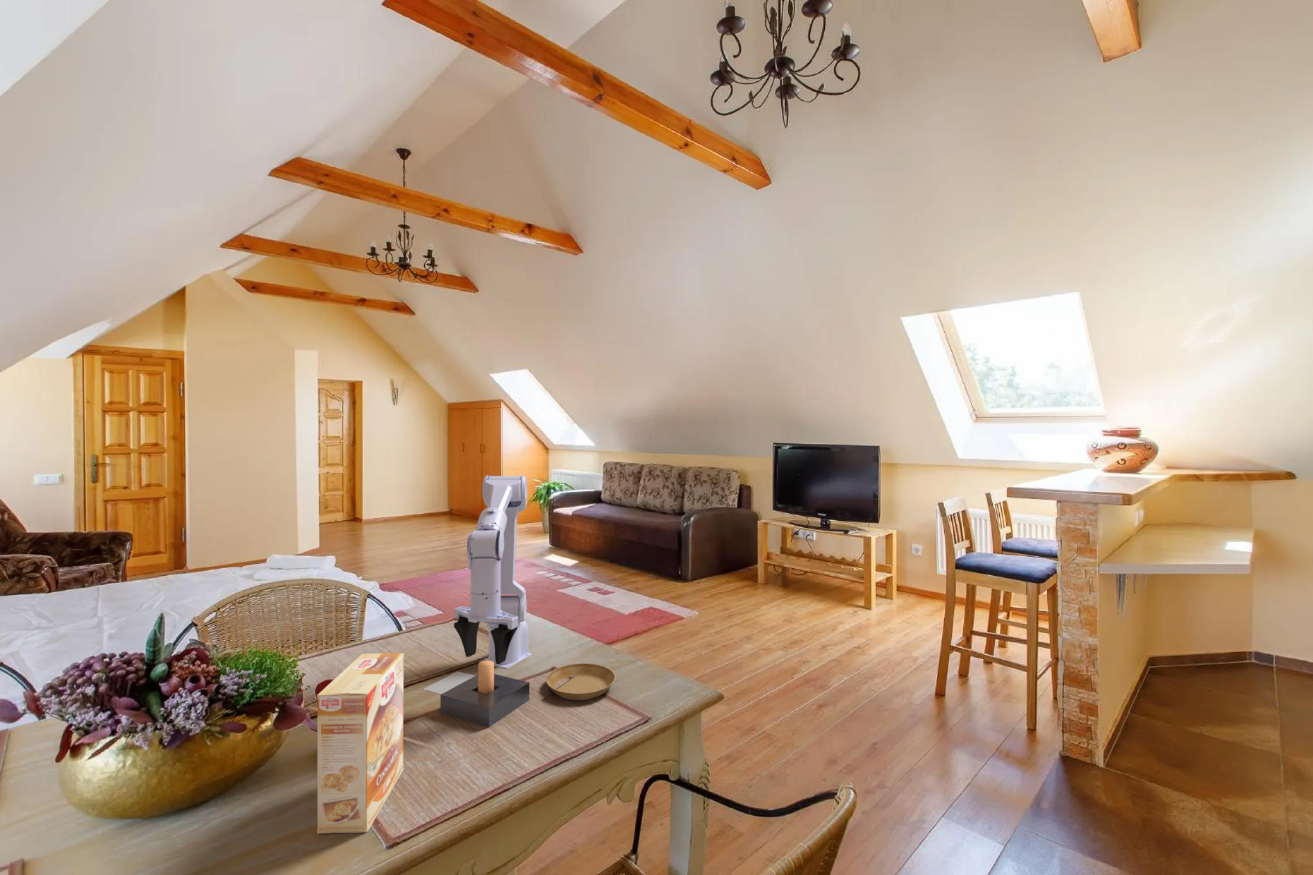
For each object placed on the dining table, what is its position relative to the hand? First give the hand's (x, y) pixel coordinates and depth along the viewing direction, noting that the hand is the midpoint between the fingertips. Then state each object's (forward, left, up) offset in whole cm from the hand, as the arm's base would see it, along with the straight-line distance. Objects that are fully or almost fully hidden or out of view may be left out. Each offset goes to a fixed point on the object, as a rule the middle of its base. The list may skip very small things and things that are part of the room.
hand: (485, 658), depth 117 cm
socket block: (0, 0, -10) cm, 10 cm away
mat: (-5, -12, -10) cm, 16 cm away
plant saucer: (-16, +12, -10) cm, 23 cm away
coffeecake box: (+30, +3, -10) cm, 32 cm away
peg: (0, 0, -10) cm, 10 cm away
